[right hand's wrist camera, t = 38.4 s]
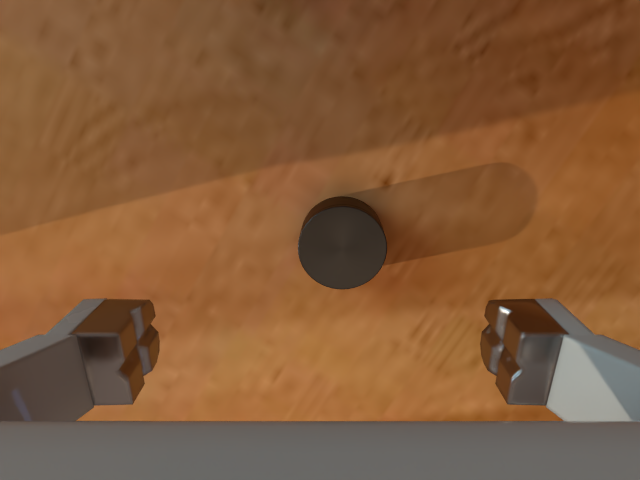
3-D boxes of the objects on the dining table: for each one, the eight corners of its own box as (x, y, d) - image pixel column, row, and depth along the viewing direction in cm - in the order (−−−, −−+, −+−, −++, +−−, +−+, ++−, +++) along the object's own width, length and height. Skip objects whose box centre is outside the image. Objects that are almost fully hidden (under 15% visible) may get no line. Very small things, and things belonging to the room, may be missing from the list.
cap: (397, 220, 19) (403, 232, 17) (356, 286, 20) (358, 303, 19) (325, 181, 19) (324, 190, 17) (287, 250, 20) (282, 265, 18)
